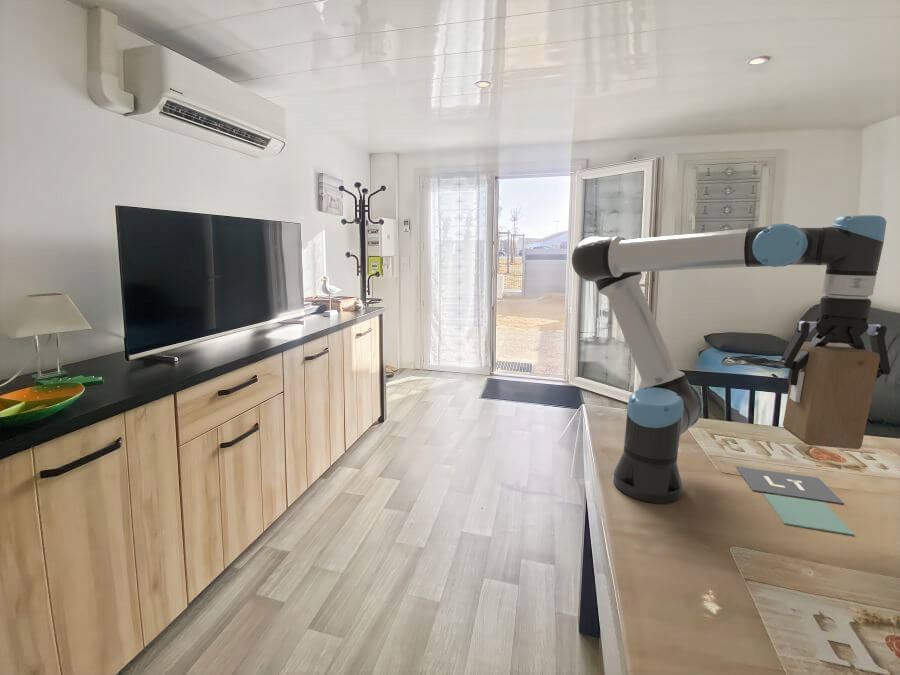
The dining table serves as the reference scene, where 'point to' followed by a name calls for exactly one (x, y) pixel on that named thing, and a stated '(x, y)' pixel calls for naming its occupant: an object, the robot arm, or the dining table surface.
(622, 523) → the dining table surface
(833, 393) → the wooden block
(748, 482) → the mat
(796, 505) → the pad
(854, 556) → the dining table surface
